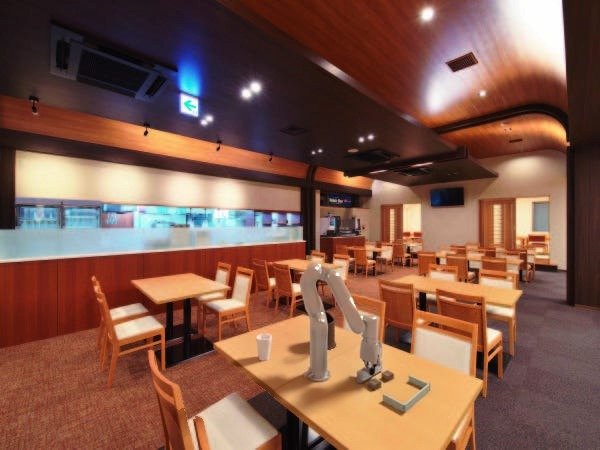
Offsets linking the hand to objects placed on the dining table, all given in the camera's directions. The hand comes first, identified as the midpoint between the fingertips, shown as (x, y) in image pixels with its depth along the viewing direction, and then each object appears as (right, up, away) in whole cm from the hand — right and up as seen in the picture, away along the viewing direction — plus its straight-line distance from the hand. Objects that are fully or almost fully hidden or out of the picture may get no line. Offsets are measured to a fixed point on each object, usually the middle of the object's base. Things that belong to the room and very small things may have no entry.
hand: (370, 373), depth 146 cm
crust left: (0, -2, -9) cm, 9 cm away
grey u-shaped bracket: (+14, -3, -16) cm, 21 cm away
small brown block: (+9, -2, -1) cm, 9 cm away
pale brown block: (+9, -2, +23) cm, 25 cm away
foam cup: (-60, -2, +20) cm, 63 cm away
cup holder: (-22, -2, +36) cm, 43 cm away
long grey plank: (0, -1, 0) cm, 1 cm away
